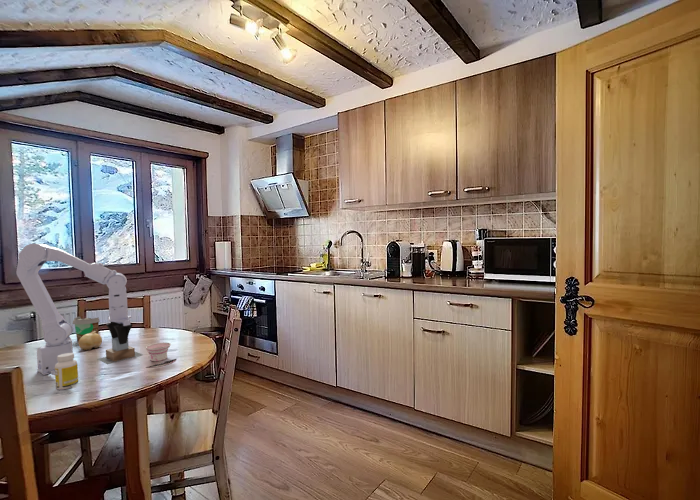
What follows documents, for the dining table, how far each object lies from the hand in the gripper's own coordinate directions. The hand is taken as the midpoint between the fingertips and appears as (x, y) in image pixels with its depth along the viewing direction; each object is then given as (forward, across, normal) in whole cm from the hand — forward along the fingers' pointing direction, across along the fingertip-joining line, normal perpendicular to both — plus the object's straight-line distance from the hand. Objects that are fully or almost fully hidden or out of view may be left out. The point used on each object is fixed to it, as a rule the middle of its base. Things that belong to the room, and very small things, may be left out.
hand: (119, 342), depth 134 cm
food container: (+7, +45, -2) cm, 46 cm away
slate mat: (+6, 0, 0) cm, 6 cm away
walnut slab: (+5, 0, 0) cm, 5 cm away
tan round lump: (+7, +27, +1) cm, 28 cm away
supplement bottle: (+7, -14, +20) cm, 25 cm away
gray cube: (+2, 0, 0) cm, 2 cm away
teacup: (+7, -15, -7) cm, 18 cm away
